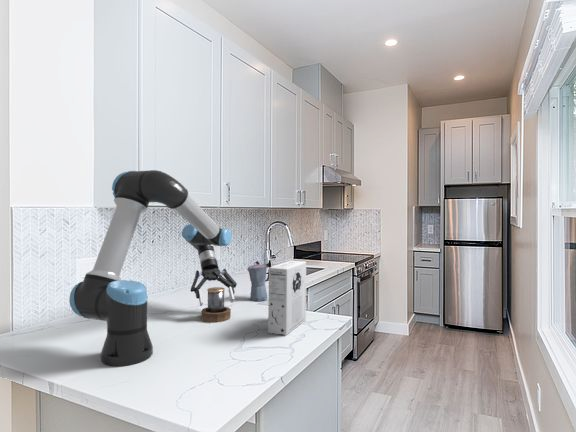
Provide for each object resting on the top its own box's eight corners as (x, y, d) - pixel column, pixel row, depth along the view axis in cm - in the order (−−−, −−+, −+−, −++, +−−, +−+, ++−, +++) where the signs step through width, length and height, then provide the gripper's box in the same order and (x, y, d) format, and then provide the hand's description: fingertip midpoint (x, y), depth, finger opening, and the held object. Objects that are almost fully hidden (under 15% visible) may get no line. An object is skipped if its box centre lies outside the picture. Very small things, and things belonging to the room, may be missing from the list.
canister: (227, 317, 159) (227, 289, 159) (210, 320, 155) (210, 291, 155) (220, 313, 165) (220, 286, 165) (205, 315, 161) (205, 288, 161)
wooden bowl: (234, 319, 158) (234, 311, 158) (207, 323, 152) (207, 315, 152) (224, 312, 168) (224, 304, 168) (198, 316, 162) (198, 308, 162)
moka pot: (241, 300, 191) (241, 261, 191) (263, 295, 202) (263, 258, 202) (254, 303, 185) (254, 263, 184) (276, 298, 196) (276, 260, 195)
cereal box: (289, 317, 161) (290, 260, 161) (306, 320, 158) (306, 261, 158) (267, 333, 141) (268, 267, 141) (286, 336, 138) (286, 269, 138)
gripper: (232, 265, 180) (243, 304, 166) (179, 269, 168) (186, 310, 155) (236, 256, 175) (247, 294, 162) (182, 259, 164) (189, 300, 150)
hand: (217, 302), depth 158 cm, fingers open, 13 cm apart
